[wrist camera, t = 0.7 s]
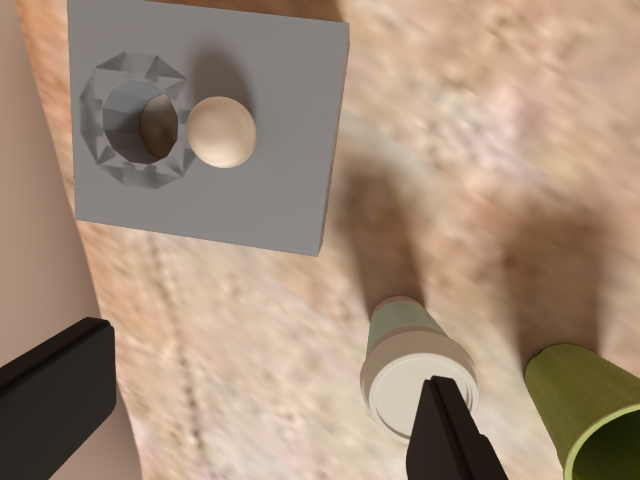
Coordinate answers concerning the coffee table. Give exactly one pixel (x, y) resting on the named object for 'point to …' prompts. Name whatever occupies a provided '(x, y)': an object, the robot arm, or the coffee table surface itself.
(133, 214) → the grey flat block
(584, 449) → the plant pot
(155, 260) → the coffee table surface
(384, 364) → the coffee cup
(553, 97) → the coffee table surface
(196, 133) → the ball
